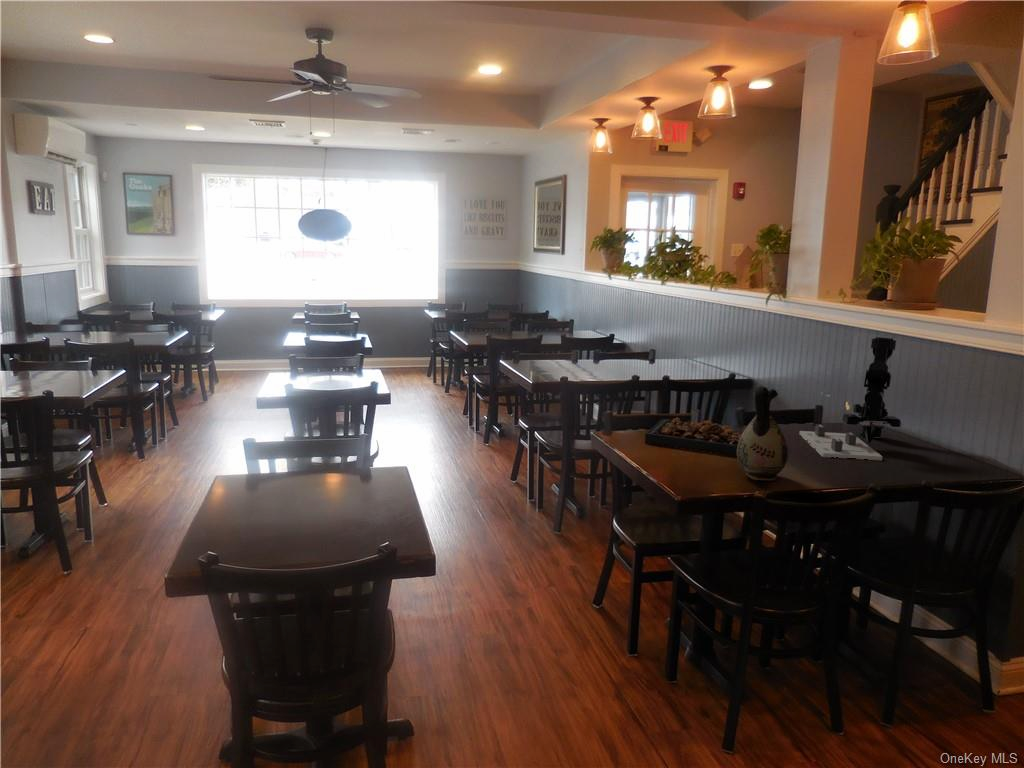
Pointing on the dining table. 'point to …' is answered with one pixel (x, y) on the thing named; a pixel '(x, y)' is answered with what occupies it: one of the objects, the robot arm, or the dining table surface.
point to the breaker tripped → (850, 438)
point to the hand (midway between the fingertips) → (868, 442)
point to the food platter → (695, 436)
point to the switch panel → (848, 451)
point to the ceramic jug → (762, 441)
